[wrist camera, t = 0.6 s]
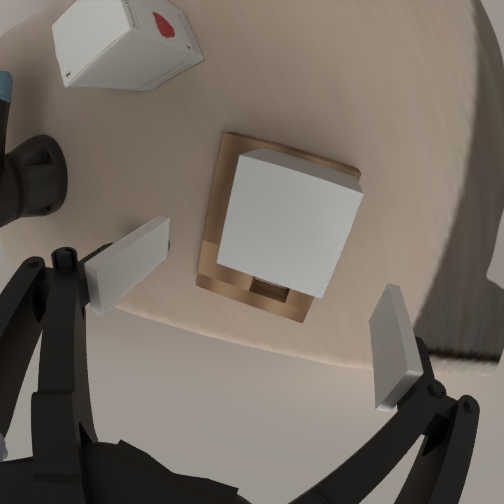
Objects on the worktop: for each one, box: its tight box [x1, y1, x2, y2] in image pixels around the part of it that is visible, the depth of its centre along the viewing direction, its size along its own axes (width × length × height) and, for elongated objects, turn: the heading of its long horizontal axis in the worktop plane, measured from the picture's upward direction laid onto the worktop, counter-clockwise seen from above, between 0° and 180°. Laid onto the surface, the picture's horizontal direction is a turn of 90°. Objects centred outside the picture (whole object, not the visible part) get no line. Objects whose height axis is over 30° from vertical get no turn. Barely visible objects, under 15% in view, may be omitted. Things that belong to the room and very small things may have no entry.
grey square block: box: [217, 147, 364, 299], centre depth 27 cm, size 10×10×8 cm
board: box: [196, 132, 361, 323], centre depth 32 cm, size 15×20×8 cm
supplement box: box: [52, 0, 204, 92], centre depth 22 cm, size 9×9×15 cm
